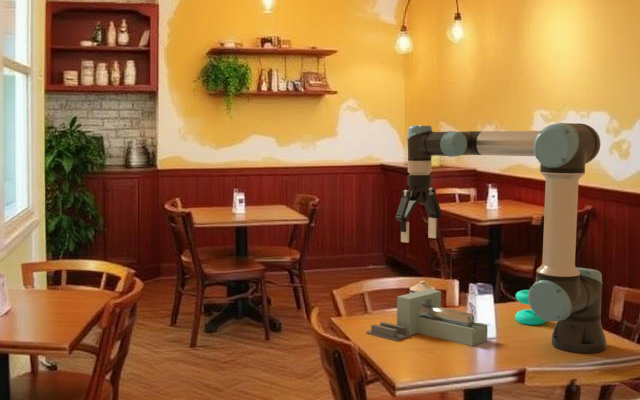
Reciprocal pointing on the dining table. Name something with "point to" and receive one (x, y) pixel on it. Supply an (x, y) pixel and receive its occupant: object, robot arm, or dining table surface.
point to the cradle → (389, 331)
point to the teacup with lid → (421, 287)
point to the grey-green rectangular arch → (415, 307)
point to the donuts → (527, 311)
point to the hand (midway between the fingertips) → (418, 240)
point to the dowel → (446, 315)
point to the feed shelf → (453, 331)
